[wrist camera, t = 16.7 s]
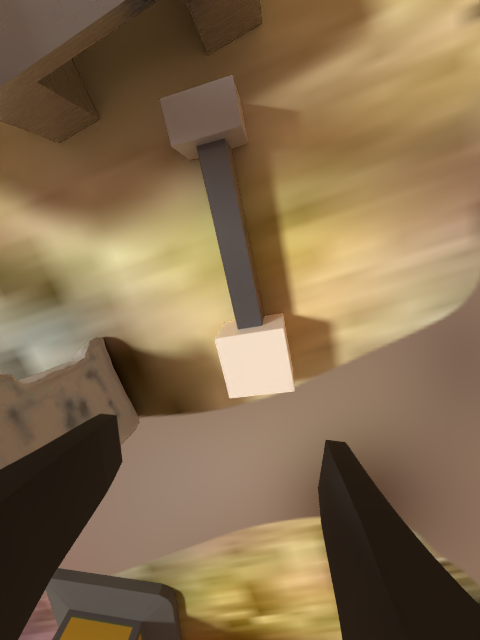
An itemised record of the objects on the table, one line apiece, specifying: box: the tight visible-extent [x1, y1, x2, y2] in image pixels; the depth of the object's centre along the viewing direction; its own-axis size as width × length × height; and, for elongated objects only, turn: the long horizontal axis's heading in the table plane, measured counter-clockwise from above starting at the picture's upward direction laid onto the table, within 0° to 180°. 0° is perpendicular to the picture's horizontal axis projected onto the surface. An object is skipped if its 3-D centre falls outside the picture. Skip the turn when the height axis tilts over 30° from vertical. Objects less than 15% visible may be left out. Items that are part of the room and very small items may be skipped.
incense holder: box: [0, 338, 139, 469], centre depth 18 cm, size 10×8×10 cm
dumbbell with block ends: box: [159, 75, 295, 398], centre depth 17 cm, size 4×16×3 cm, turn 12°
